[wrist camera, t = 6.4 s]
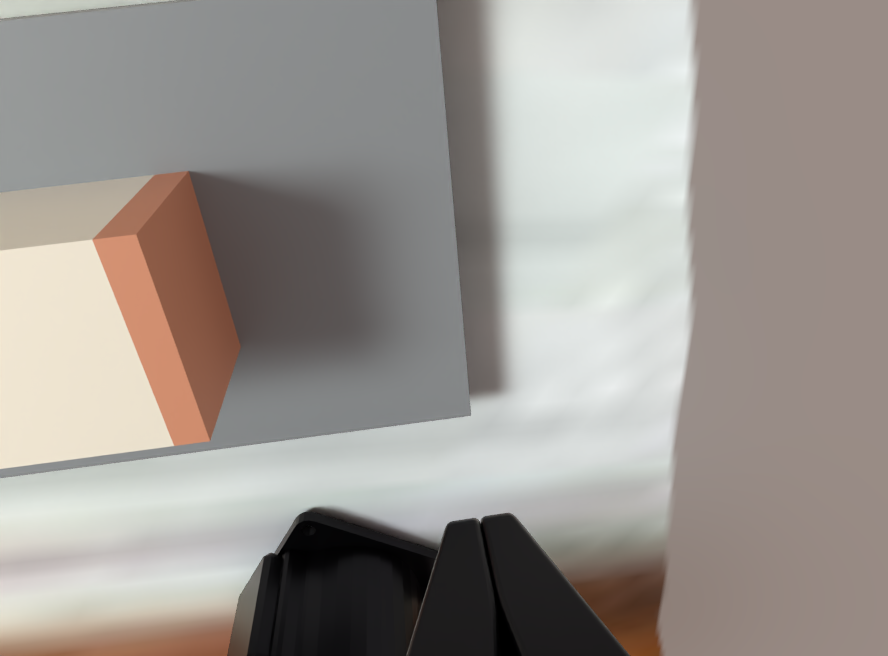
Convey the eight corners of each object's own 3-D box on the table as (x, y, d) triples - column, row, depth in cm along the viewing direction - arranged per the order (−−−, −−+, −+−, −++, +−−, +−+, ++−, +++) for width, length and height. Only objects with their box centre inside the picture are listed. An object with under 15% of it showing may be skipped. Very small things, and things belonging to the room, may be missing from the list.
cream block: (136, 234, 12) (-373, 294, 11) (209, 441, 14) (-204, 495, 14) (188, 171, 15) (-202, 215, 15) (240, 347, 18) (-91, 388, 17)
